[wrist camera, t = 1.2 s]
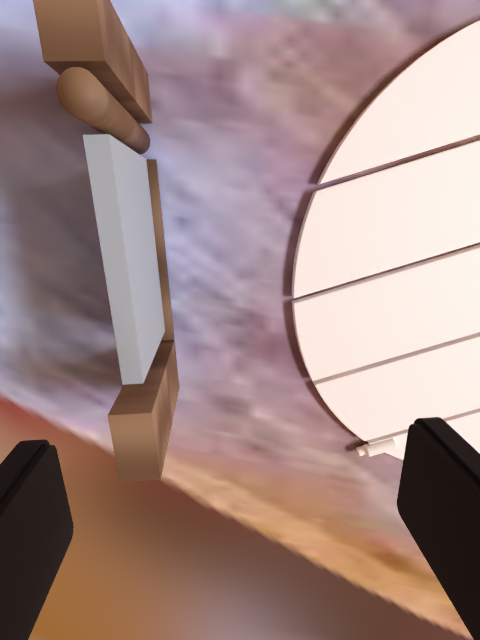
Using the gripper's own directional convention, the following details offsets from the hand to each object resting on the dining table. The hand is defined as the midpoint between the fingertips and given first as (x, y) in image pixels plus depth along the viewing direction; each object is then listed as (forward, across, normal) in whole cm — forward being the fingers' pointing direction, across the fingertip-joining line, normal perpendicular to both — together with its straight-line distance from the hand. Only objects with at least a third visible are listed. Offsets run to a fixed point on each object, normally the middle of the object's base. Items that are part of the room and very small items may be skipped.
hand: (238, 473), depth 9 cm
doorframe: (+20, +6, -3) cm, 21 cm away
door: (+20, +6, -4) cm, 21 cm away
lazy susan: (+21, -25, 0) cm, 33 cm away
